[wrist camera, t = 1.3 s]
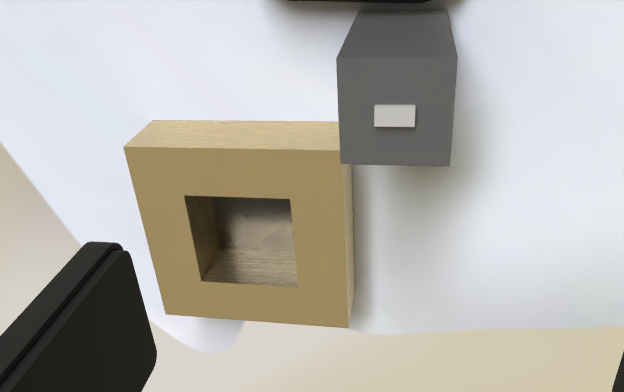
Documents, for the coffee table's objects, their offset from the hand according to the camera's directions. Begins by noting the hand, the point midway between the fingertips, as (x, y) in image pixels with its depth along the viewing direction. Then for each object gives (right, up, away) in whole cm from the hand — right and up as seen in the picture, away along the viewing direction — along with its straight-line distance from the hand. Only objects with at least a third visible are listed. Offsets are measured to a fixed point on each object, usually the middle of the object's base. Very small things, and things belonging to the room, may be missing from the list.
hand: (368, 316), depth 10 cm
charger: (+3, +9, +16) cm, 18 cm away
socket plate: (-4, +1, +21) cm, 22 cm away
